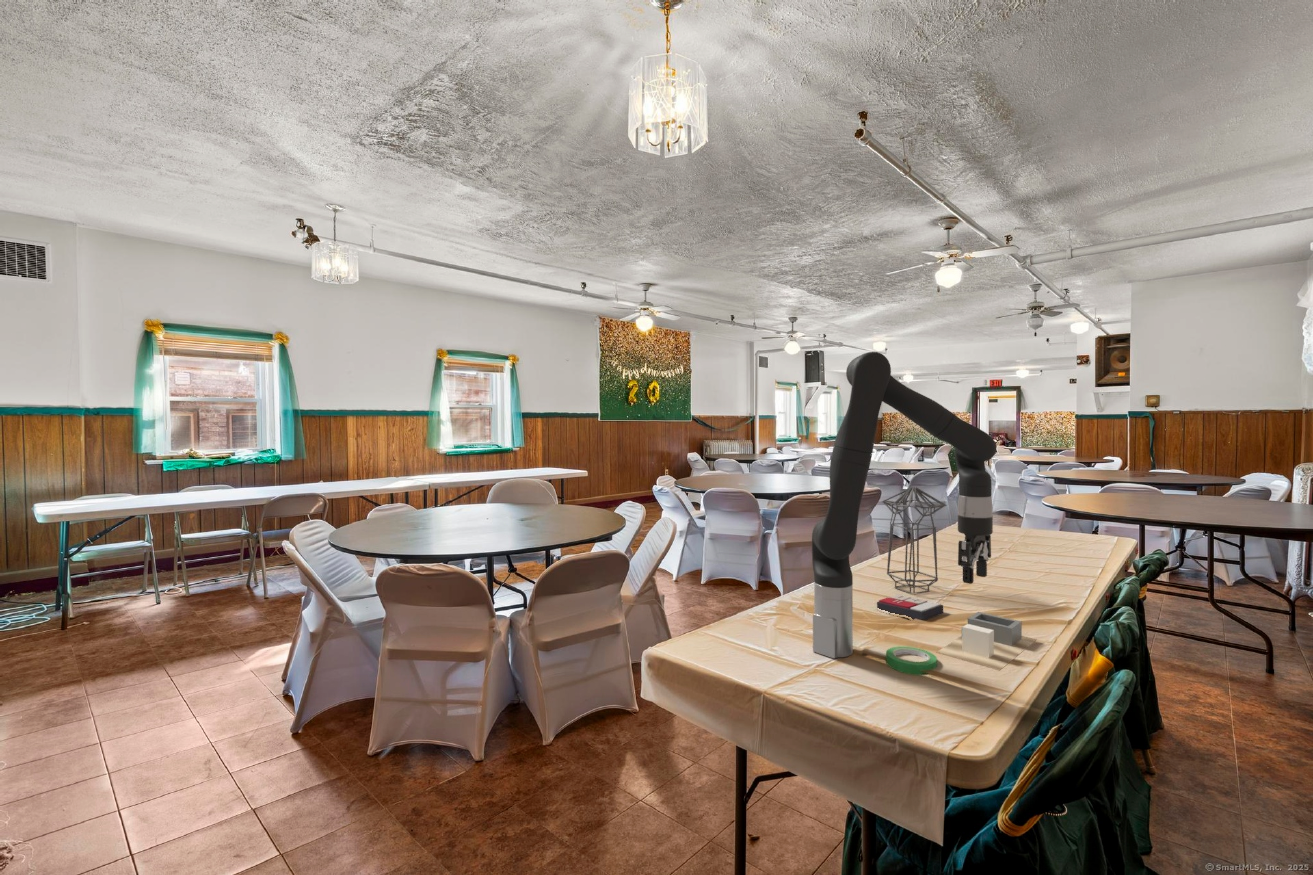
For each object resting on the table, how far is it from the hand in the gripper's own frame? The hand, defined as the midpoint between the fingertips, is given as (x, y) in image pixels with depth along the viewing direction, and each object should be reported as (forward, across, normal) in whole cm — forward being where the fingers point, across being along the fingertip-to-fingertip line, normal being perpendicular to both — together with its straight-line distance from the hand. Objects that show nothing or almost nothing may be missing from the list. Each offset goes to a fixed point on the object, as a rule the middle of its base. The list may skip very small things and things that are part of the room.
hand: (975, 579), depth 142 cm
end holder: (+18, +13, 0) cm, 22 cm away
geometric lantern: (+19, +43, +35) cm, 58 cm away
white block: (+18, -1, -1) cm, 18 cm away
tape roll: (+19, -17, +8) cm, 27 cm away
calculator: (+19, +18, +25) cm, 36 cm away
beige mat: (+19, +5, -1) cm, 19 cm away
